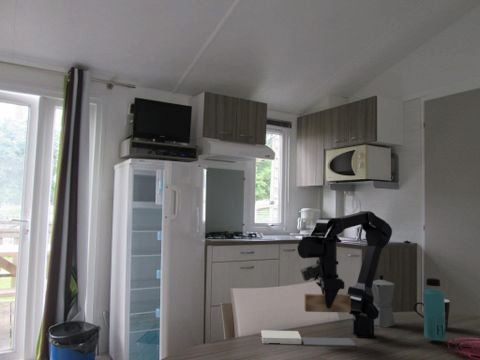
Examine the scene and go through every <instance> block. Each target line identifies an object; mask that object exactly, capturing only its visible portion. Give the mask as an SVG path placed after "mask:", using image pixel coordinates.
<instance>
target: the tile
mask: <svg viewBox="0 0 480 360" xmlns="http://www.w3.org/2000/svg"><path fill="white" fill-rule="evenodd" d="M260 336H262V337H261V343H262V344H269V343H280V345H303V343H302V338H301V334H300V333H299V331H298V330H266V329H261V331H260Z"/></svg>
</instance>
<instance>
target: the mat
mask: <svg viewBox="0 0 480 360" xmlns="http://www.w3.org/2000/svg"><path fill="white" fill-rule="evenodd" d="M301 338H302V345H303V346H307V347H308V346H309V347H310V346H311V347H312V346H313V347H314V346H316V347H319V346H320V347H347V348H348V347H352V348H353V347H357V344H356V343H355V342H354V341H353V340H352V339H351V337H350V338H349V337H347V338H346V337H343V338H342V337H310V336H309V337H304V336H303V337H301Z"/></svg>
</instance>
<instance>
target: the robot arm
mask: <svg viewBox="0 0 480 360" xmlns="http://www.w3.org/2000/svg"><path fill="white" fill-rule="evenodd" d="M358 226H360V227H361V229H362V230H363V231H364V232H365V236H364V237H365V240H366V241H365V242H366V244H367V245H366V249H365V252H364V255H363V258H362V259H363V260H362V263H361V267H360V270H359V274H358V278H357V281H356V284H355V285H354V286H349V287H348V289H347V292H346V293H347V294H346V295H350V296H351V313H348V314H349V315H352V319H351V321H350V322H351V325H350V327H351V328H350V329H351V333H352V334H353V335H354V336H355V337H356V338H373V339H374V338H377V335H376V334H375V326H374V319H376V318H378V315H379V311H378V309H377V308H376V307H375V305H374V304H373V301H374V296H373V292H372V284H373V281H375V276H376V273H377V270H378V266H379V262H380V257H381V255H382V249H383V248H384V247H386V245H388V243H389V242H390V241H391V240H390V239H391V237H392V235H393V228H392V227H391V225H390V224H389V223H387V221H385V220H384V219H382V218H380V217H379V216H377V215H376V213H374V212H373V211H372V210H371V211H370V210H368V211H366V210H365V211H364V210H362V211H361V210H360V211H359V212H356V213H351V214H348V215H343V216H340V217H339V216H338V217H319V218H317V219H316V222H315V224H314V226H313V229H312V230H311V231H310V234H309V235H302V237H301V240H300V241H299V243H298V245H297V246H296V247H297V254H298V256H299V257H300V258H302V259H317V260H316V261H315V264H313V265H309V266H306V267H304V268H300V273H301V277H302V279H303V280H304V281H305V282H308V281H310V280H311V279H312V280H314V281H317V282H315V284H316V285H317V286H318V287H319V288H320V291H321V294H325V300H326V306H327V308H331V306H332V304H333V302H334V299H335V297H336V295H337V294H338V293H339V291H340V290H344V289H345V281H344V280H343V279H342V278H340V277H339V274H338V266H337V265H339V261H338V253H337V250H338V247H337V245H338V244H339V243H343V241H342V239H340V238H339V236H338V235H340V234H342V233H343V232H344V231H345V230H346V229H351V228H354V227H358Z"/></svg>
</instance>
